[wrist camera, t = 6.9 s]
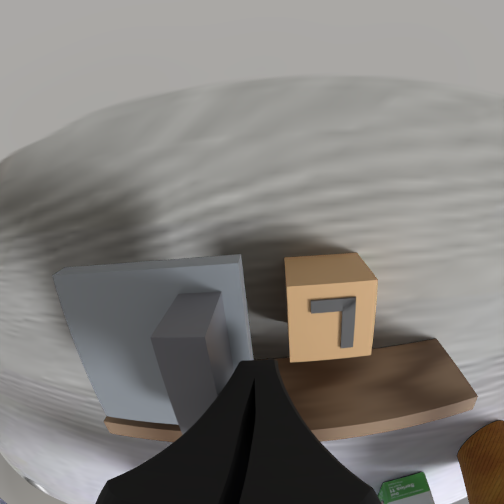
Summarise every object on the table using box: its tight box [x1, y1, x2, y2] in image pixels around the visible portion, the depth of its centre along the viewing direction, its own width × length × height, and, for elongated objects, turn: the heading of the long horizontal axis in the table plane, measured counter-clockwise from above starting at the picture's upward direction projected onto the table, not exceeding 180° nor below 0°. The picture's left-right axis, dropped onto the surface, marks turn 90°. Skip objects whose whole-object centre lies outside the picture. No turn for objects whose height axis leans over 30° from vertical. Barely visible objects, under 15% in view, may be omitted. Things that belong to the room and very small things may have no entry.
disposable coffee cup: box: [457, 421, 504, 504], centre depth 16 cm, size 10×10×12 cm
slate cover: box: [52, 254, 254, 435], centre depth 11 cm, size 8×8×4 cm
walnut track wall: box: [104, 339, 478, 442], centre depth 16 cm, size 20×1×6 cm, turn 96°
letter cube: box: [284, 253, 378, 362], centre depth 16 cm, size 4×4×4 cm
